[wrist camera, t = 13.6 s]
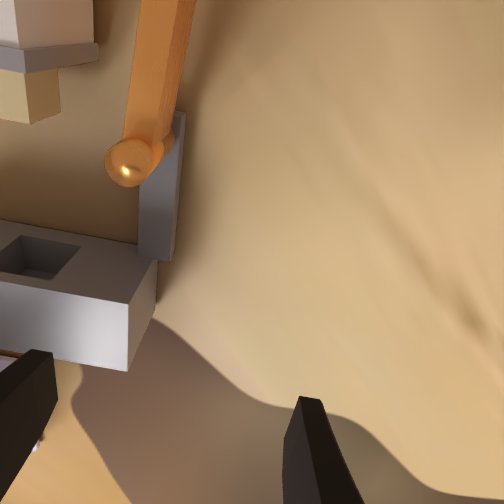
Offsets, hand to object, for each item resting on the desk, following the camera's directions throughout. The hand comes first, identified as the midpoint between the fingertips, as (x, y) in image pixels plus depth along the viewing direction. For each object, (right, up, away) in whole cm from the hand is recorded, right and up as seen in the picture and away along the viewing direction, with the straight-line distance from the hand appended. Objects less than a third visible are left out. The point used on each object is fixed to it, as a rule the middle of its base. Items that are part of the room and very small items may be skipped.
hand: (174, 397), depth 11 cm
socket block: (-7, +6, +8) cm, 12 cm away
